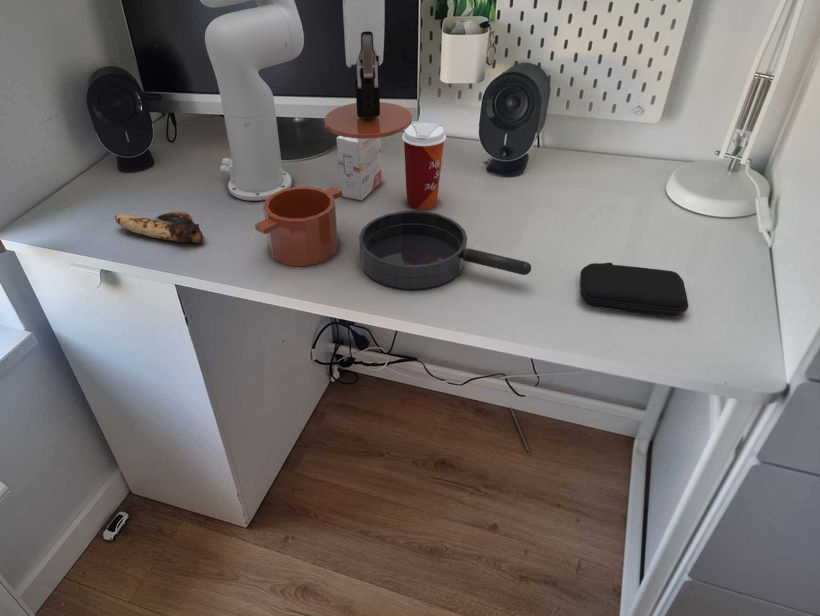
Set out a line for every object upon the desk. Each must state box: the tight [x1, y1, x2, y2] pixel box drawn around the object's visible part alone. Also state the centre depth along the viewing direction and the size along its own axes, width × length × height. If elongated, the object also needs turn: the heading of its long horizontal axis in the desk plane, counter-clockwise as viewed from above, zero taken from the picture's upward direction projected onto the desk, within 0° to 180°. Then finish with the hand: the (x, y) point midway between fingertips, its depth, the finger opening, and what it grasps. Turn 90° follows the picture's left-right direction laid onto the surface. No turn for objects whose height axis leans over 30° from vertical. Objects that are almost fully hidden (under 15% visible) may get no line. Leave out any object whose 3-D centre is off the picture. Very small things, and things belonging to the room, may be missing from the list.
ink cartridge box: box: [335, 135, 382, 201], centre depth 121 cm, size 9×5×15 cm, turn 150°
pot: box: [254, 186, 343, 267], centre depth 108 cm, size 12×17×8 cm
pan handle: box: [462, 247, 532, 276], centre depth 98 cm, size 11×2×2 cm, turn 62°
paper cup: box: [401, 122, 447, 211], centre depth 116 cm, size 8×8×14 cm
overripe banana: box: [114, 211, 205, 244], centre depth 115 cm, size 9×5×18 cm
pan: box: [358, 210, 468, 290], centre depth 105 cm, size 17×17×4 cm
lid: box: [324, 80, 413, 139], centre depth 91 cm, size 13×13×6 cm
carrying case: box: [579, 262, 689, 317], centre depth 96 cm, size 11×3×15 cm
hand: (368, 110), depth 92 cm, fingers closed on lid, 2 cm apart
